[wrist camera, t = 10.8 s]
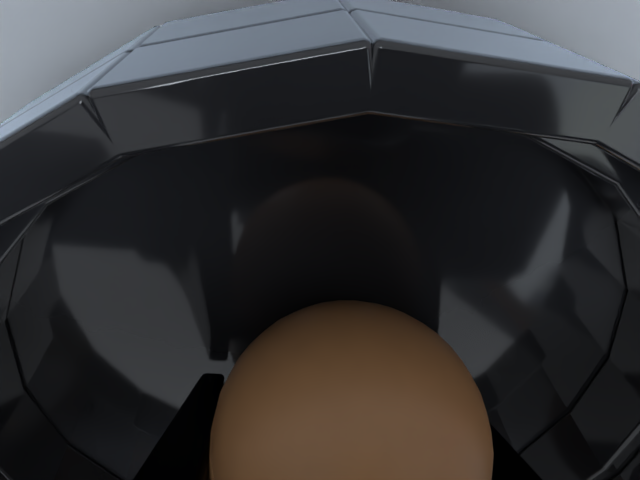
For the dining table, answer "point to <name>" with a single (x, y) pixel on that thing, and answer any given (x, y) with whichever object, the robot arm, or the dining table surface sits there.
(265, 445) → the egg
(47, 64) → the dining table surface
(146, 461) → the robot arm
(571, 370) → the egg pan
